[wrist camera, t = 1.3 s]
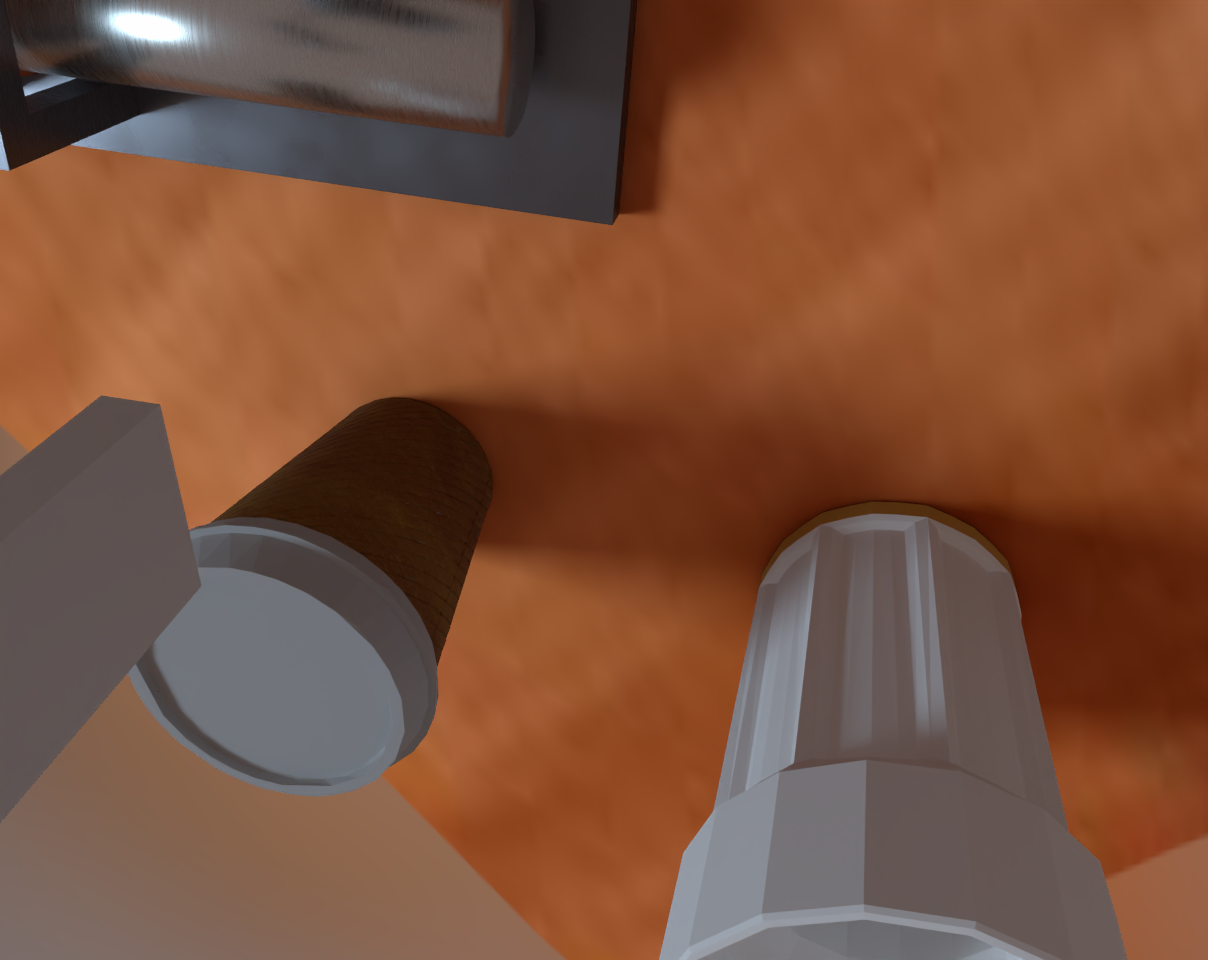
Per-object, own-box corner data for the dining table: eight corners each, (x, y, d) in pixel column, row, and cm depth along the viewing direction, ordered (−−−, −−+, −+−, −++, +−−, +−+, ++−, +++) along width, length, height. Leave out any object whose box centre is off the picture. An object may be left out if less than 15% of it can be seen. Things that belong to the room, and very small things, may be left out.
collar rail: (-337, -255, 32) (-661, -270, 25) (650, -158, 28) (578, -145, 21) (-222, 91, 38) (-464, 155, 31) (618, 214, 34) (553, 319, 27)
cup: (1126, 593, 37) (1286, 1102, 22) (904, 764, 43) (917, 1249, 29) (861, 411, 35) (850, 831, 21) (671, 614, 41) (561, 1047, 27)
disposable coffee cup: (583, 523, 40) (486, 761, 30) (395, 604, 44) (255, 836, 34) (433, 311, 37) (268, 500, 27) (244, 420, 41) (41, 619, 31)
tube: (539, -42, 29) (492, -20, 25) (533, 121, 31) (488, 163, 28) (1, -104, 31) (-112, -92, 27) (33, 53, 33) (-67, 83, 30)
